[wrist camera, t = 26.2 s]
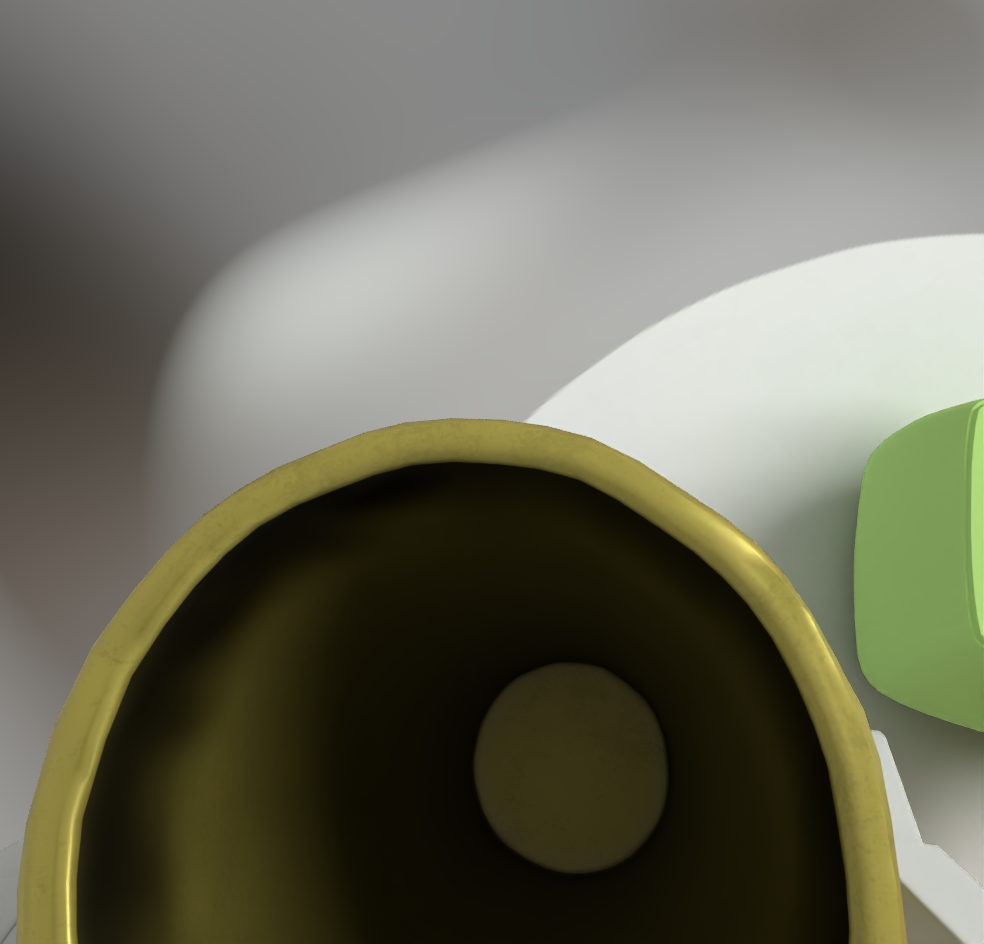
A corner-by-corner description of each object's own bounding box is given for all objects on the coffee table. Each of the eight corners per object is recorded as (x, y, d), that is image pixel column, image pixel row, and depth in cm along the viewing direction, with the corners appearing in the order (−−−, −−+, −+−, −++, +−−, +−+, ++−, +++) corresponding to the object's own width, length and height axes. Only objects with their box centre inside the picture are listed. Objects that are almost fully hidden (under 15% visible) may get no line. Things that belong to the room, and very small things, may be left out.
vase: (646, 589, 19) (714, 227, 5) (758, 861, 17) (1316, 1361, 3) (406, 676, 19) (-98, 536, 6) (486, 956, 17) (-15, 1786, 4)
